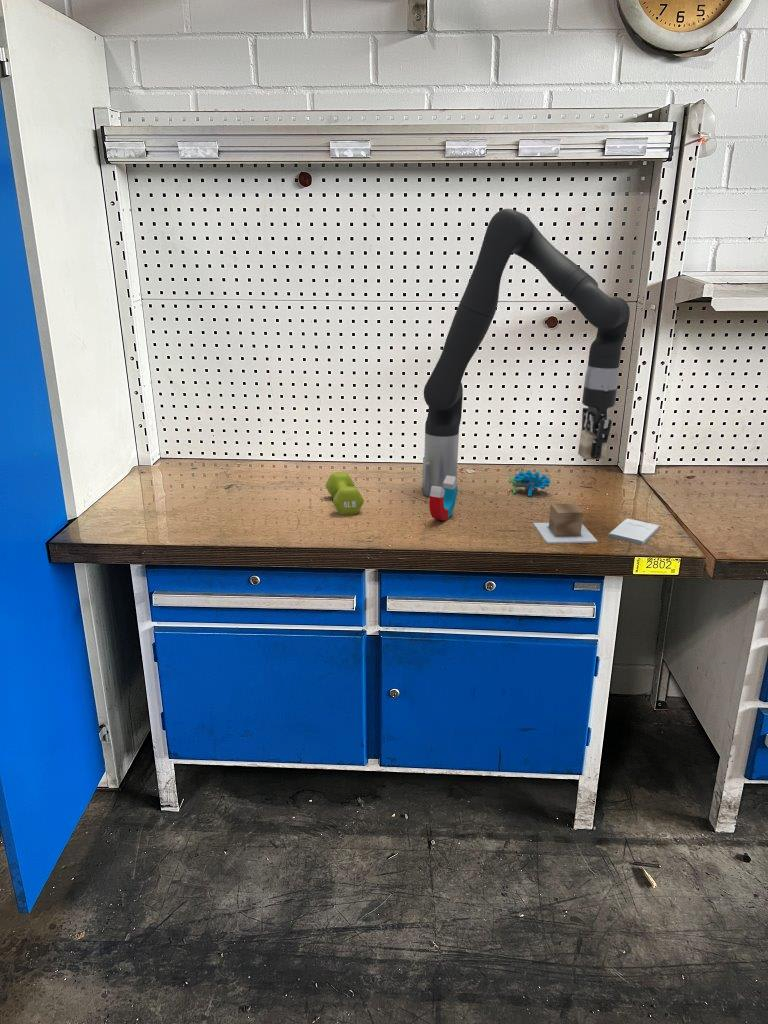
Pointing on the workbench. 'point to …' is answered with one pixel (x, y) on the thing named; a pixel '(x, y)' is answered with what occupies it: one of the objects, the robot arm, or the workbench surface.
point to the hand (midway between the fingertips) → (591, 454)
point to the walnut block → (565, 520)
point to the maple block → (589, 445)
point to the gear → (529, 481)
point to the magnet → (443, 499)
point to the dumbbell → (344, 493)
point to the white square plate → (551, 538)
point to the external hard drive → (634, 531)
